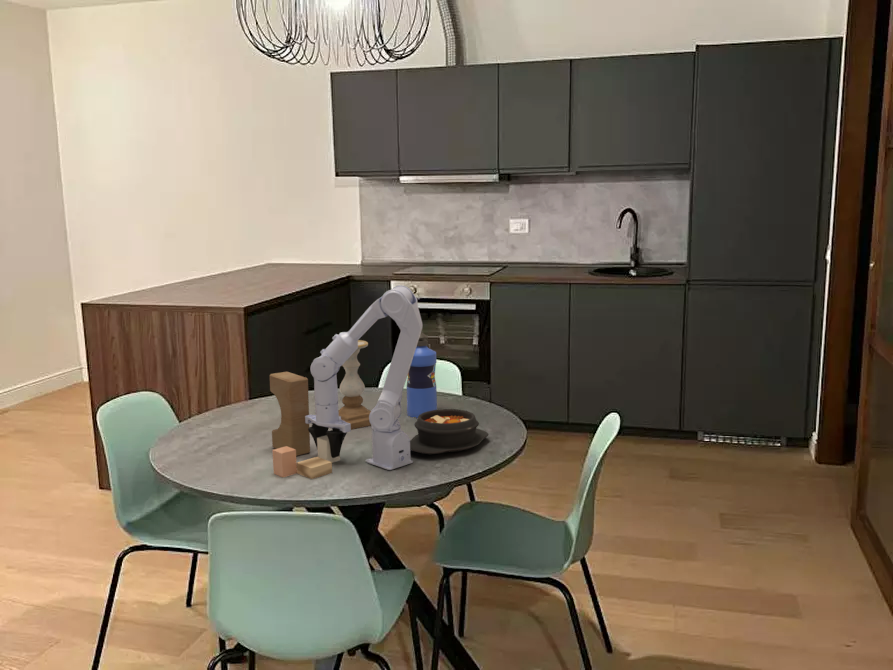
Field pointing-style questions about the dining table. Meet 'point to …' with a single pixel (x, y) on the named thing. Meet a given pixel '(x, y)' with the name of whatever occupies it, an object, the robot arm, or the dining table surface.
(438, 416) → the casserole
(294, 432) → the decorative block
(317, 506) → the dining table surface
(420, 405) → the water bottle
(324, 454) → the cream cube
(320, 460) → the oak block
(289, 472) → the terracotta cube
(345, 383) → the candle holder
